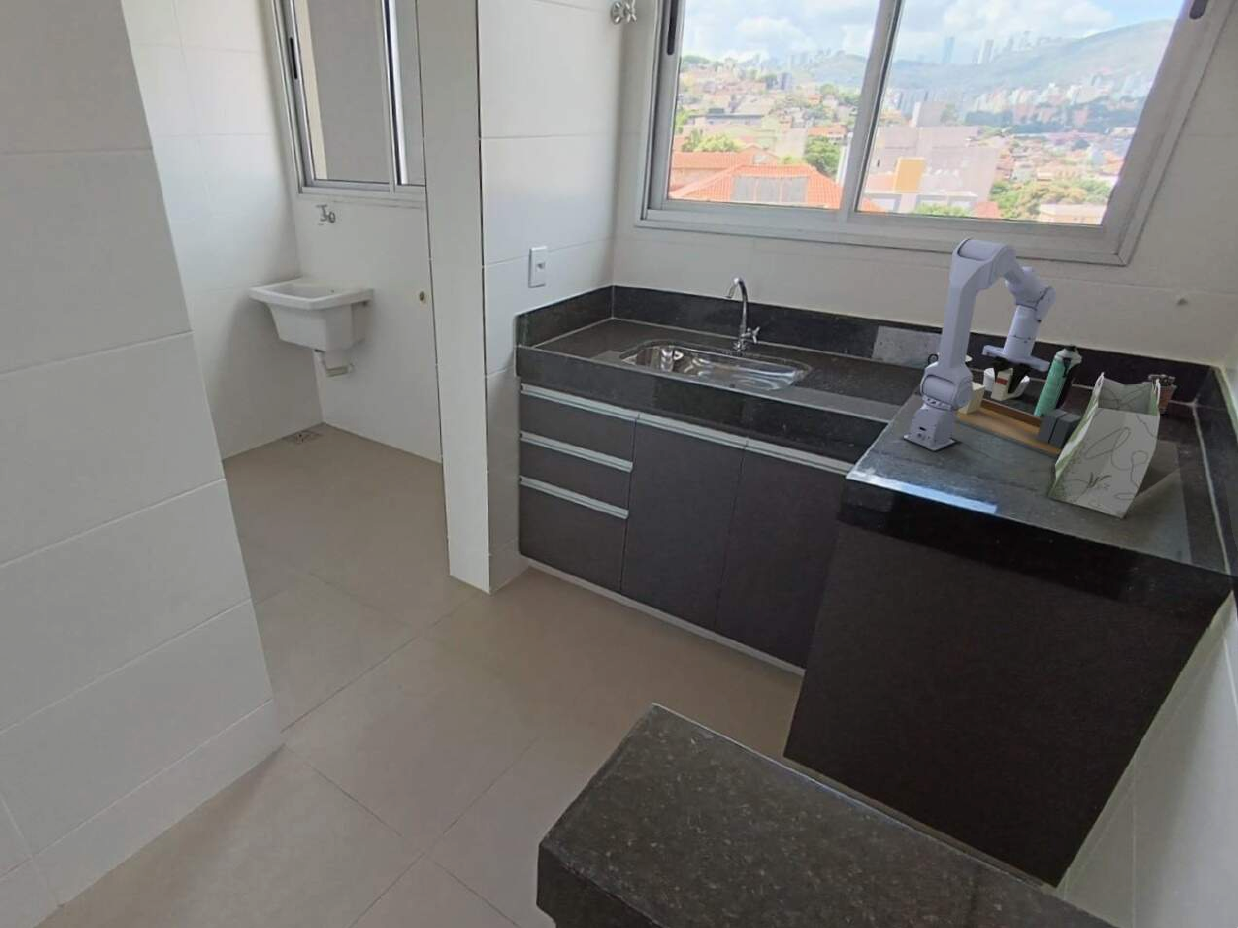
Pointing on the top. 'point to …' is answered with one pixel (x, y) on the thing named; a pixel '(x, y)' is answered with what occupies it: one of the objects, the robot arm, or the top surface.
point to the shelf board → (1009, 423)
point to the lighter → (1163, 390)
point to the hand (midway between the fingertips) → (1004, 391)
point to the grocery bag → (1109, 448)
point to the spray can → (1059, 381)
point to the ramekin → (990, 382)
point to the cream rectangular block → (974, 400)
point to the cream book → (1002, 385)
